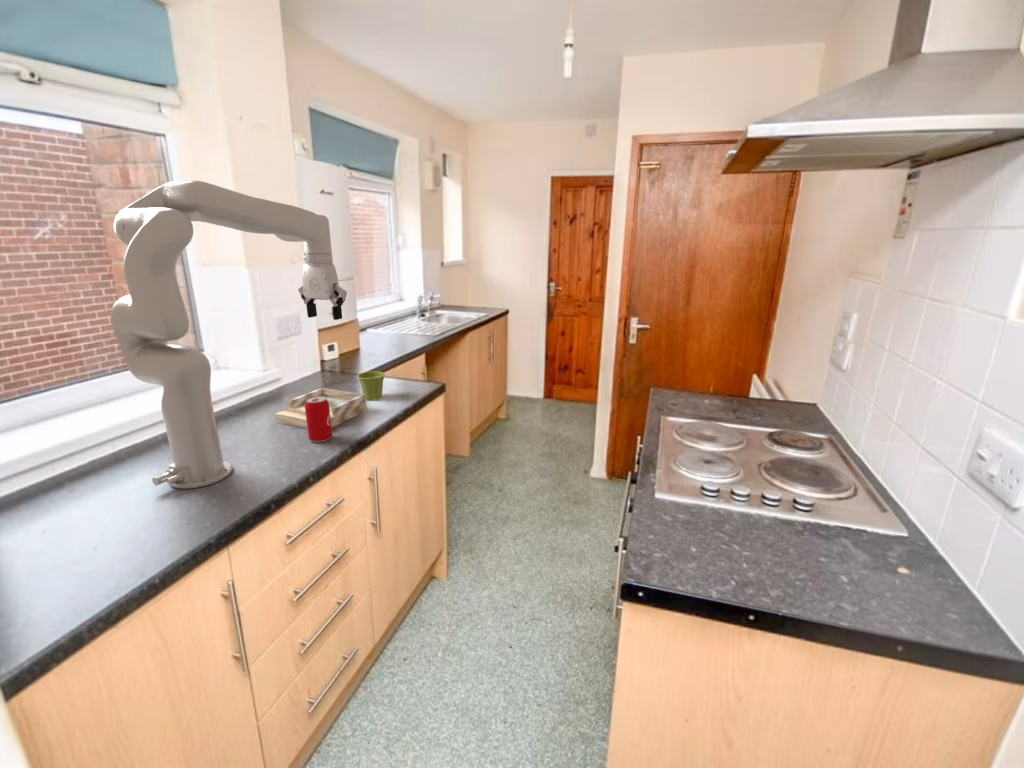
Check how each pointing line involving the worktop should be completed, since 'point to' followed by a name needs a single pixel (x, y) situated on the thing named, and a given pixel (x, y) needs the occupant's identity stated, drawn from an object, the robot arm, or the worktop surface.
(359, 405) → the dock
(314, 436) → the beverage can
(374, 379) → the plant pot
